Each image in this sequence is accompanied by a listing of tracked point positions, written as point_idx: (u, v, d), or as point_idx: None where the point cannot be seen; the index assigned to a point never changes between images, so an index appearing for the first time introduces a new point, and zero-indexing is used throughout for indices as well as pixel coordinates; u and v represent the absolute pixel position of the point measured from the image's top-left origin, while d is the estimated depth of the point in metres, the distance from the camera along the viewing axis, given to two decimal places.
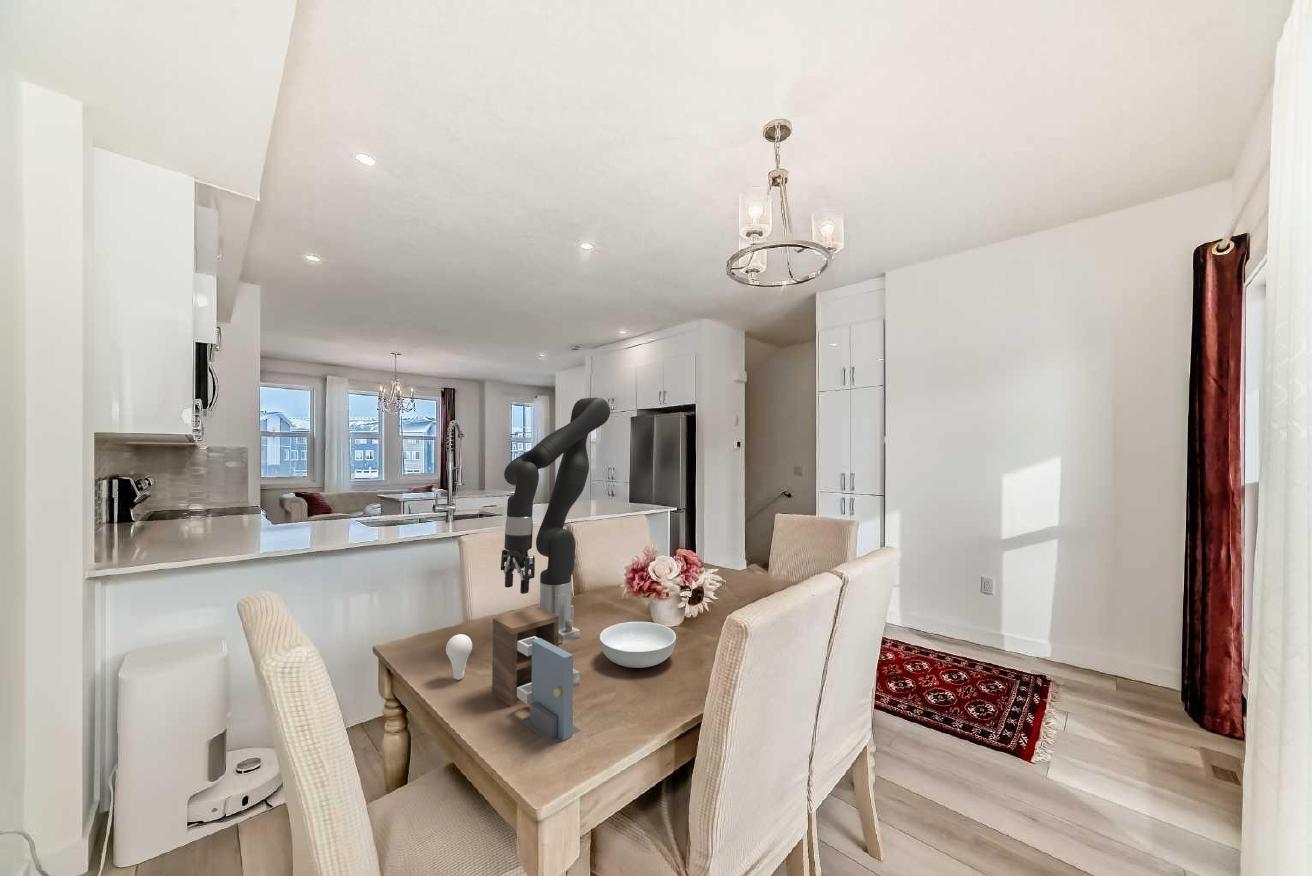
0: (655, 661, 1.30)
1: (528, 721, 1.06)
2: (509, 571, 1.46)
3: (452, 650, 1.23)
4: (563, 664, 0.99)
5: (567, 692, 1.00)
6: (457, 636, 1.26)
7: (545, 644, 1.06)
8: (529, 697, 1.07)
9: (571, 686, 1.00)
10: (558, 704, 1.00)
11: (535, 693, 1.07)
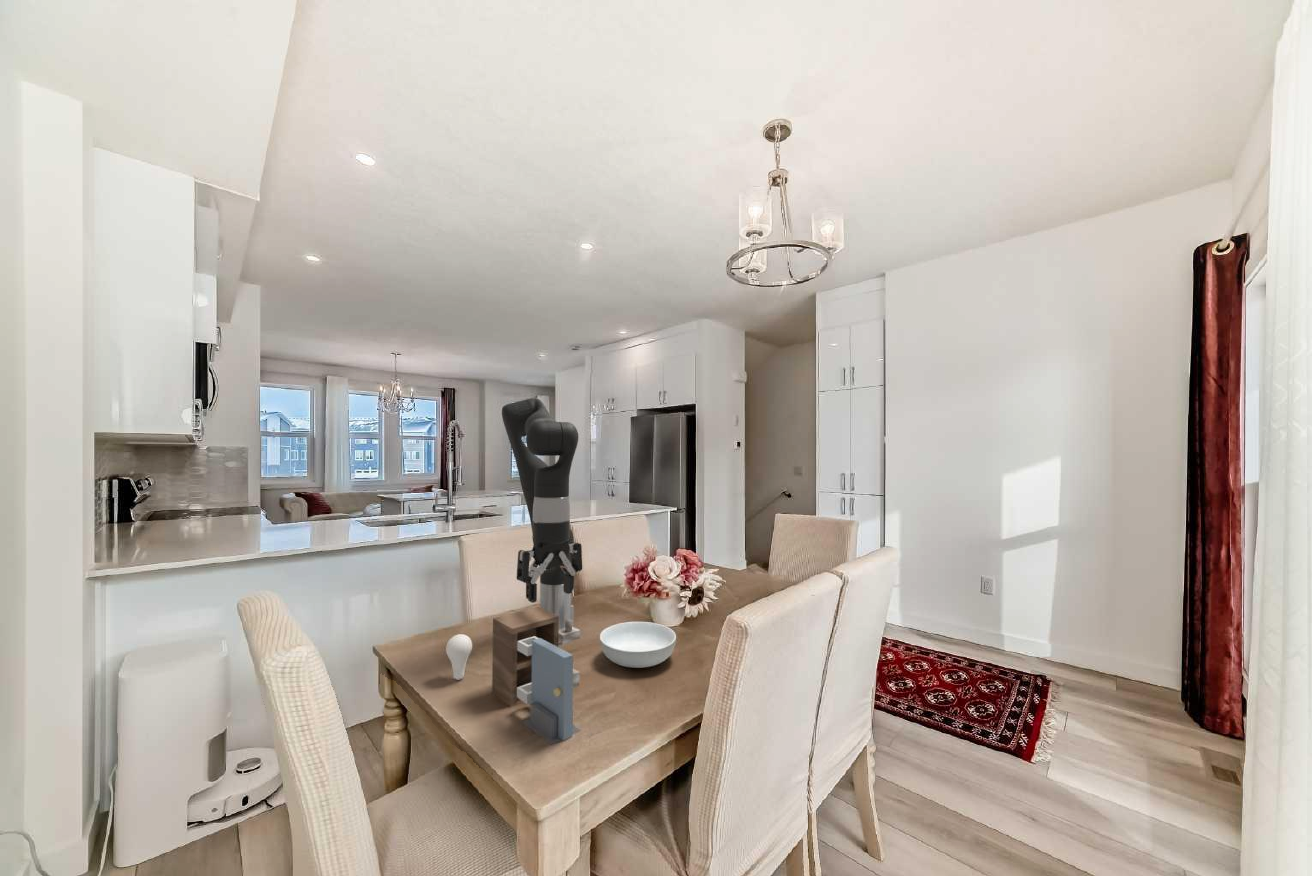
0: (655, 661, 1.30)
1: (528, 721, 1.06)
2: None
3: (452, 650, 1.23)
4: (563, 664, 0.99)
5: (567, 692, 1.00)
6: (457, 636, 1.26)
7: (545, 644, 1.06)
8: (529, 697, 1.07)
9: (571, 686, 1.00)
10: (558, 704, 1.00)
11: (535, 693, 1.07)
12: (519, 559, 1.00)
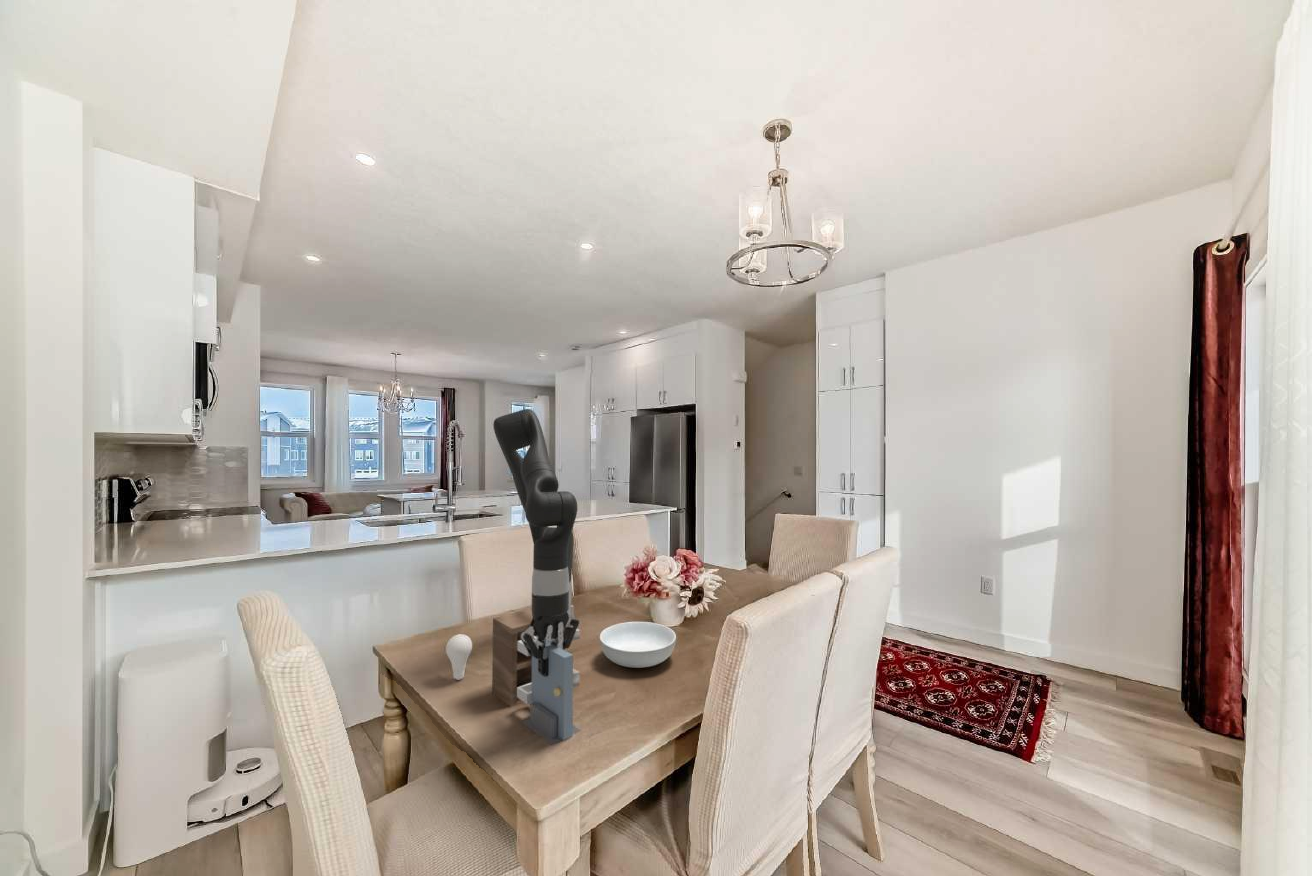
0: (655, 661, 1.30)
1: (528, 721, 1.06)
2: None
3: (452, 650, 1.23)
4: (563, 664, 0.99)
5: (567, 692, 1.00)
6: (457, 636, 1.26)
7: None
8: (529, 696, 1.07)
9: (571, 686, 1.00)
10: (558, 704, 1.00)
11: (535, 693, 1.07)
12: (523, 641, 1.01)
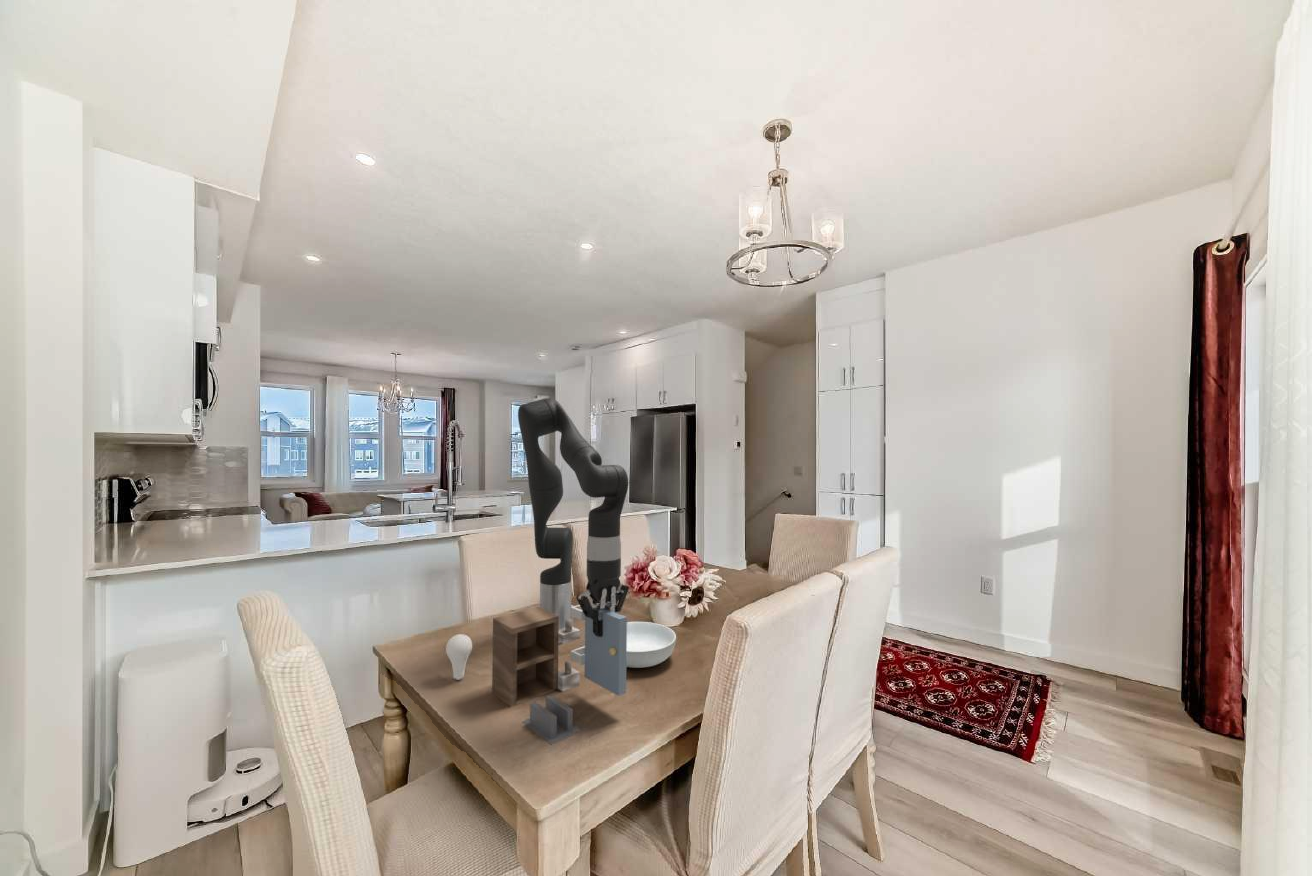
0: (655, 661, 1.30)
1: (528, 721, 1.06)
2: None
3: (452, 650, 1.23)
4: (618, 625, 1.07)
5: (622, 651, 1.07)
6: (457, 636, 1.26)
7: None
8: (582, 658, 1.15)
9: (625, 646, 1.08)
10: (613, 663, 1.08)
11: (588, 654, 1.14)
12: (580, 603, 1.08)
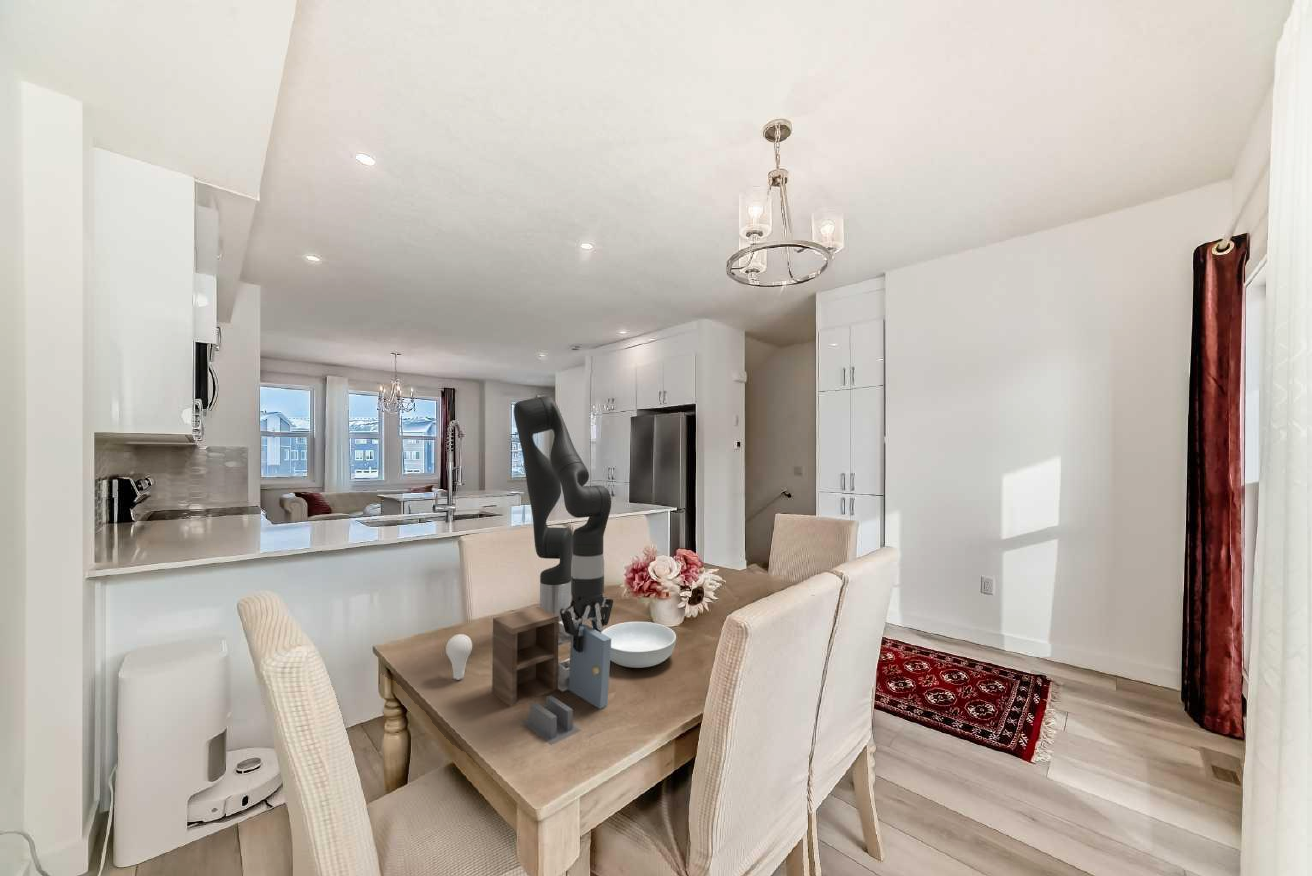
0: (655, 661, 1.30)
1: (528, 721, 1.06)
2: None
3: (452, 650, 1.23)
4: (602, 646, 1.11)
5: (605, 671, 1.11)
6: (457, 636, 1.26)
7: (584, 627, 1.17)
8: (567, 672, 1.19)
9: (608, 666, 1.12)
10: (596, 681, 1.12)
11: (573, 669, 1.18)
12: (562, 617, 1.12)
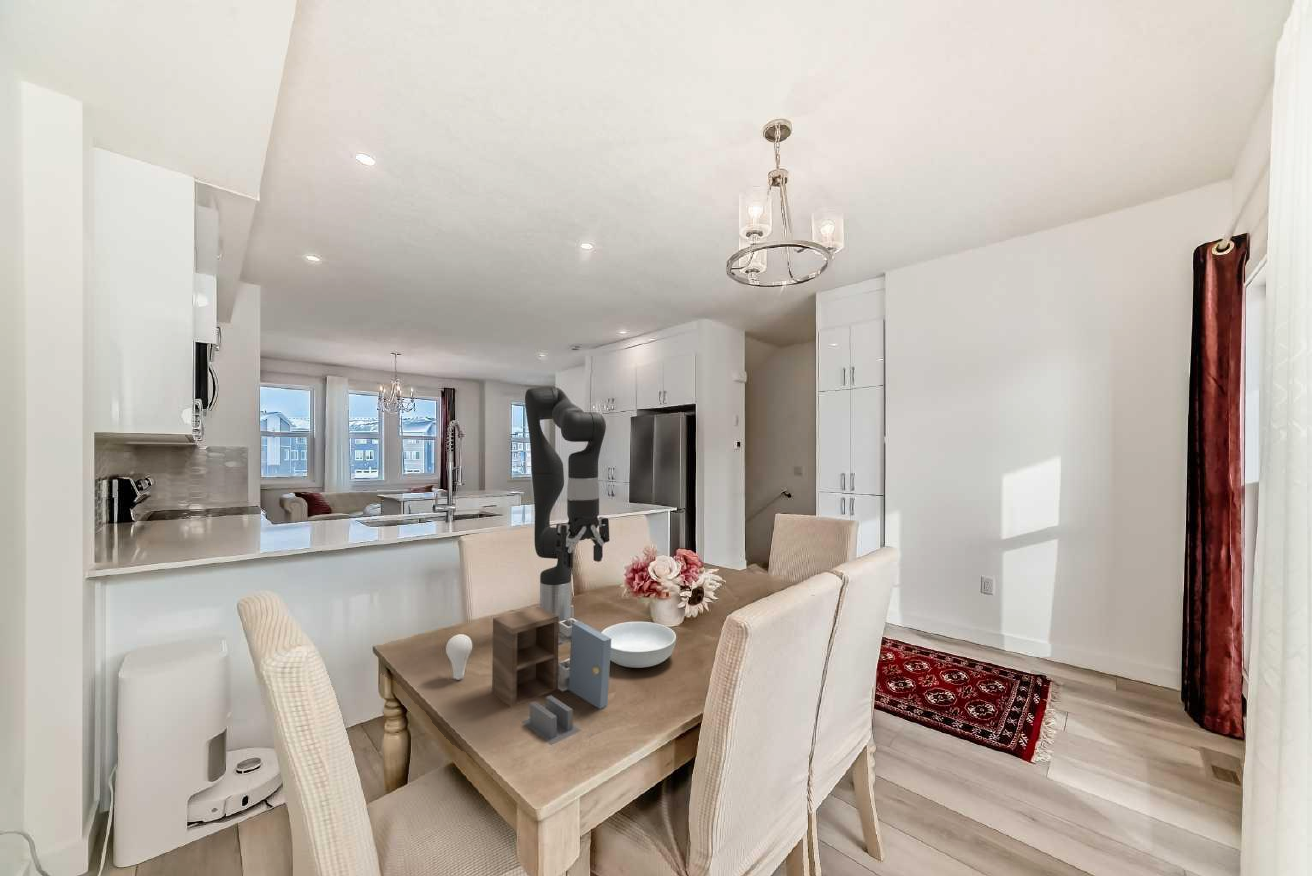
0: (655, 661, 1.30)
1: (528, 721, 1.06)
2: None
3: (452, 650, 1.23)
4: (602, 646, 1.11)
5: (605, 671, 1.11)
6: (457, 636, 1.26)
7: (584, 627, 1.17)
8: (567, 672, 1.19)
9: (608, 666, 1.12)
10: (596, 681, 1.12)
11: (573, 669, 1.18)
12: (557, 531, 1.16)
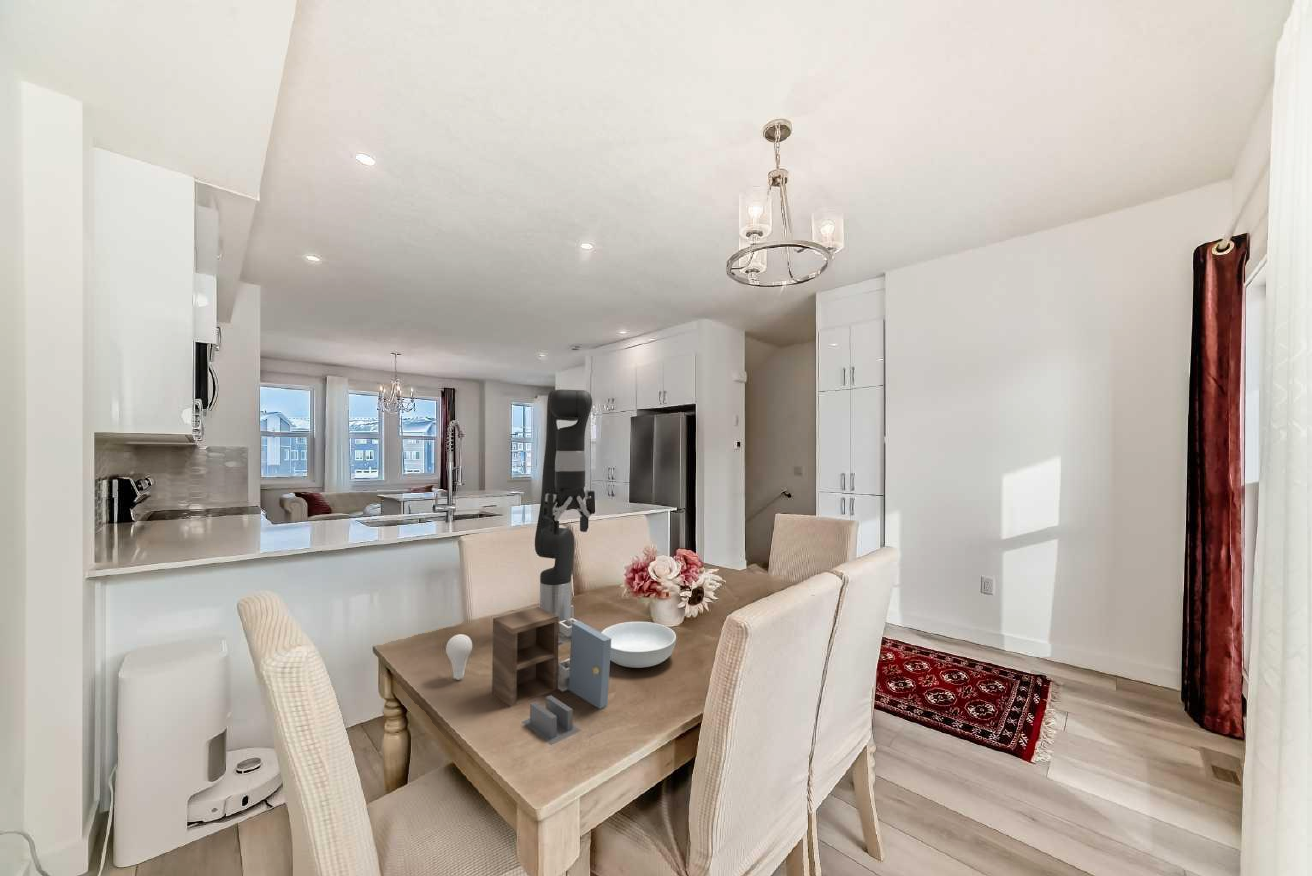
0: (655, 661, 1.30)
1: (528, 721, 1.06)
2: None
3: (452, 650, 1.23)
4: (602, 646, 1.11)
5: (605, 671, 1.11)
6: (457, 636, 1.26)
7: (584, 627, 1.17)
8: (567, 672, 1.19)
9: (608, 666, 1.12)
10: (596, 681, 1.12)
11: (573, 669, 1.18)
12: (545, 500, 1.23)
